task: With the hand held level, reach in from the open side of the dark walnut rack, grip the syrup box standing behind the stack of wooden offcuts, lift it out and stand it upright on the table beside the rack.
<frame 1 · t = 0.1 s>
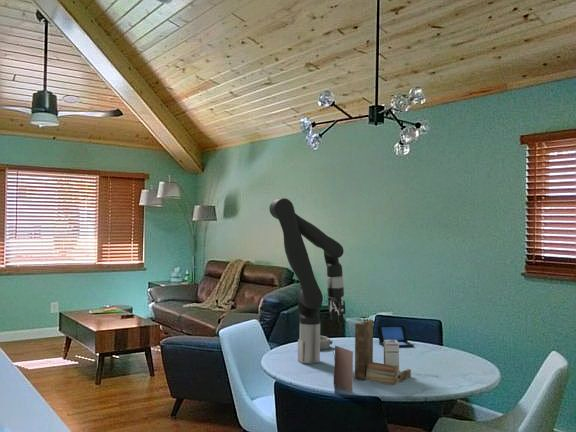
hand: (337, 321, 247), 17 cm above the table, tool pointing down, fingers open, 8 cm apart
handheld game console: (395, 345, 279), on the table
dish: (316, 348, 272), on the table
offcut stack: (382, 373, 214), on the table
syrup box: (391, 377, 220), on the table
walnut rack: (389, 377, 219), on the table
greeting card: (342, 389, 202), on the table
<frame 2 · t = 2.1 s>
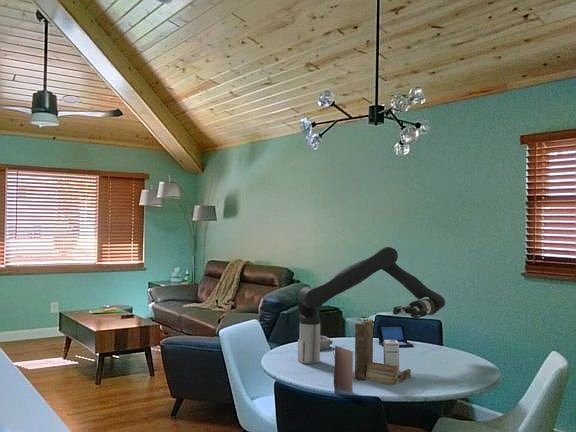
hand: (403, 313, 229), 24 cm above the table, tool horizontal, fingers open, 8 cm apart
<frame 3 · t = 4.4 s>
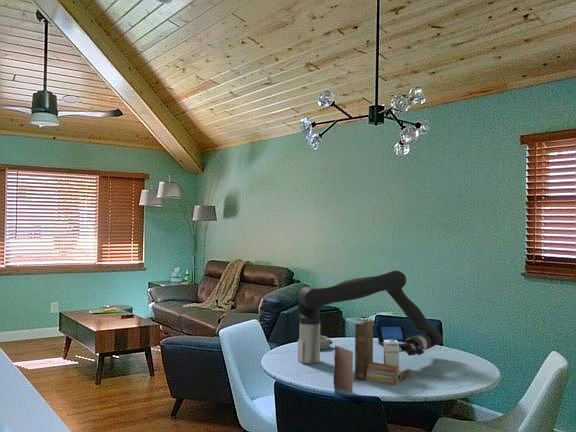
hand: (399, 351, 226), 9 cm above the table, tool horizontal, fingers open, 8 cm apart
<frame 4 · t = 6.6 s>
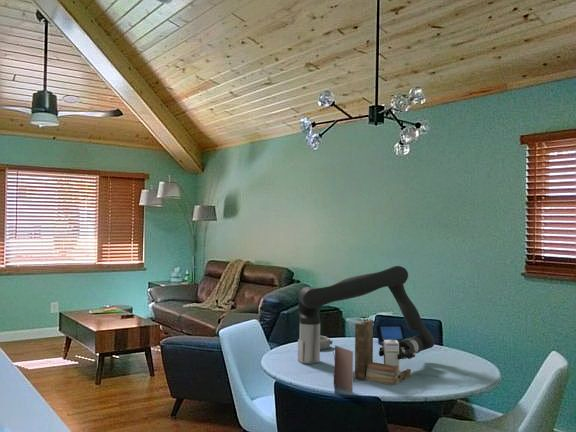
hand: (389, 355, 218), 9 cm above the table, tool horizontal, fingers closed on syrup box, 7 cm apart
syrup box: (391, 377, 220), on the table, touching gripper
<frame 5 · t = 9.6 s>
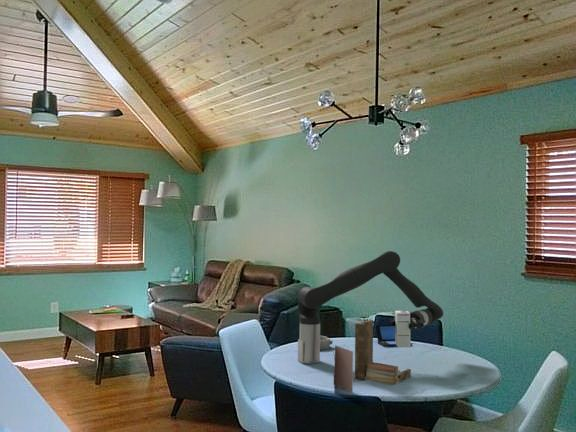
hand: (400, 325, 226), 20 cm above the table, tool horizontal, fingers closed on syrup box, 7 cm apart
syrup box: (402, 346, 228), point 11 cm above the table, touching gripper
when the fingers open (10 cm above the table, at t = 12.8 s): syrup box drops 1 cm, on the table.
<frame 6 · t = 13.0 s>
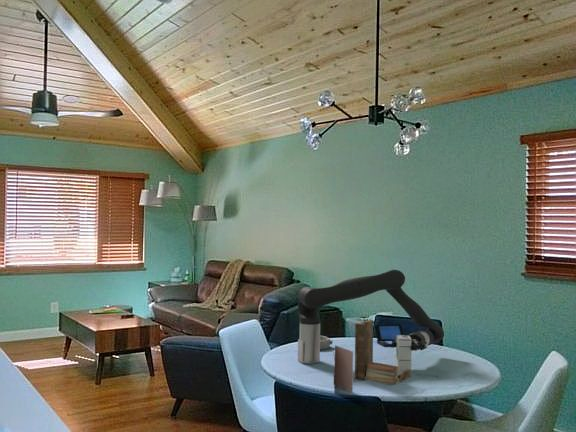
hand: (402, 346, 228), 10 cm above the table, tool horizontal, fingers open, 8 cm apart
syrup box: (403, 371, 229), on the table, touching gripper
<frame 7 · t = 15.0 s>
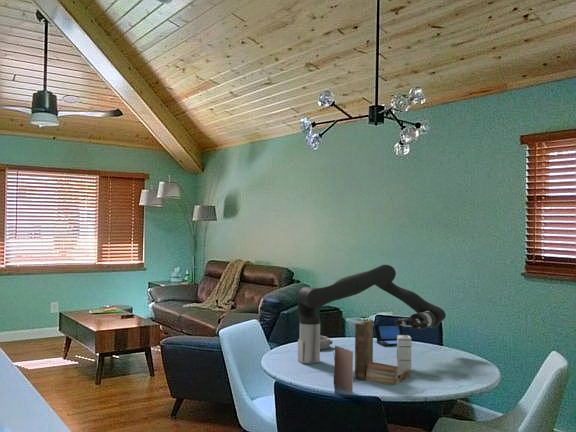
hand: (404, 324, 235), 18 cm above the table, tool horizontal, fingers open, 8 cm apart
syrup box: (403, 371, 230), on the table
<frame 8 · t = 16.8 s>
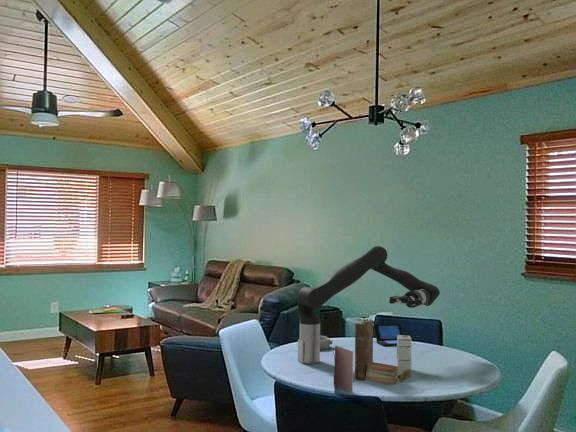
hand: (399, 302, 236), 28 cm above the table, tool horizontal, fingers open, 8 cm apart
at the end: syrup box inside the target area (0.4 cm from its centre), on the table; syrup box tilted 0°; the gripper is holding nothing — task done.
